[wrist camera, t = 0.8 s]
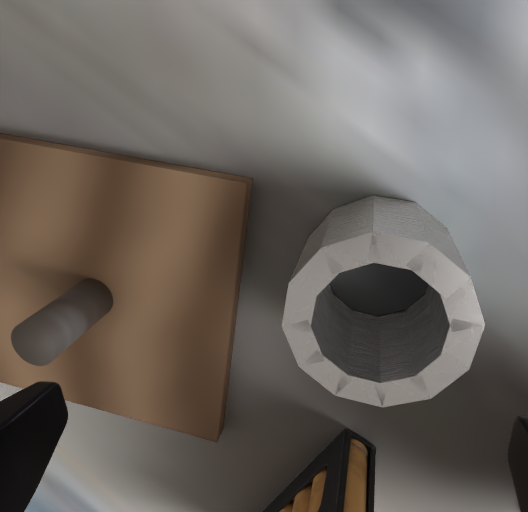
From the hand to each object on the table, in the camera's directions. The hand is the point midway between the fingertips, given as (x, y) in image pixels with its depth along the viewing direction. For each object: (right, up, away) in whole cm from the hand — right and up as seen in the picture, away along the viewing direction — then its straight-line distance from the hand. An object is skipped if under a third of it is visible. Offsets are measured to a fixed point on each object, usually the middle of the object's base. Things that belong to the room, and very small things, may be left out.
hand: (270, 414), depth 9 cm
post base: (-8, +1, +14) cm, 17 cm away
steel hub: (+5, +2, +11) cm, 12 cm away
